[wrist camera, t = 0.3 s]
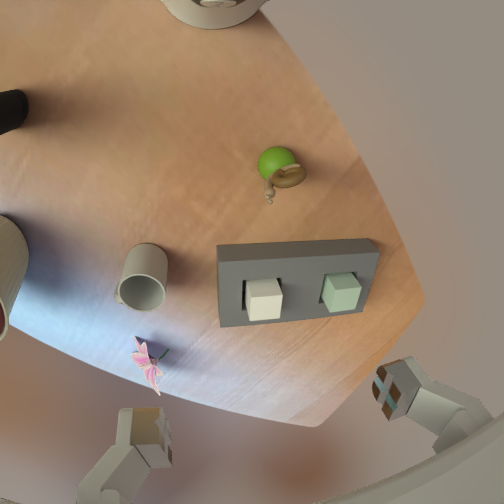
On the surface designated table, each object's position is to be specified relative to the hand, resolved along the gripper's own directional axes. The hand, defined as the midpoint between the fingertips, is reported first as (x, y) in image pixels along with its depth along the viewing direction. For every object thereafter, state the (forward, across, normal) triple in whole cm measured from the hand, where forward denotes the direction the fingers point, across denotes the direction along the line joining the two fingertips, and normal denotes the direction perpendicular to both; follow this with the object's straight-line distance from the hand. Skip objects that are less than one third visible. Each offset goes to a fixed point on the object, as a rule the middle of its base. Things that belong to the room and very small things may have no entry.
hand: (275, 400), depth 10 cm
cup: (+42, +13, +14) cm, 46 cm away
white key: (+38, -7, +20) cm, 44 cm away
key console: (+42, -14, +20) cm, 48 cm away
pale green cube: (+38, -21, +21) cm, 48 cm away
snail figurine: (+40, -9, -1) cm, 41 cm away
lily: (+44, +16, +35) cm, 59 cm away
